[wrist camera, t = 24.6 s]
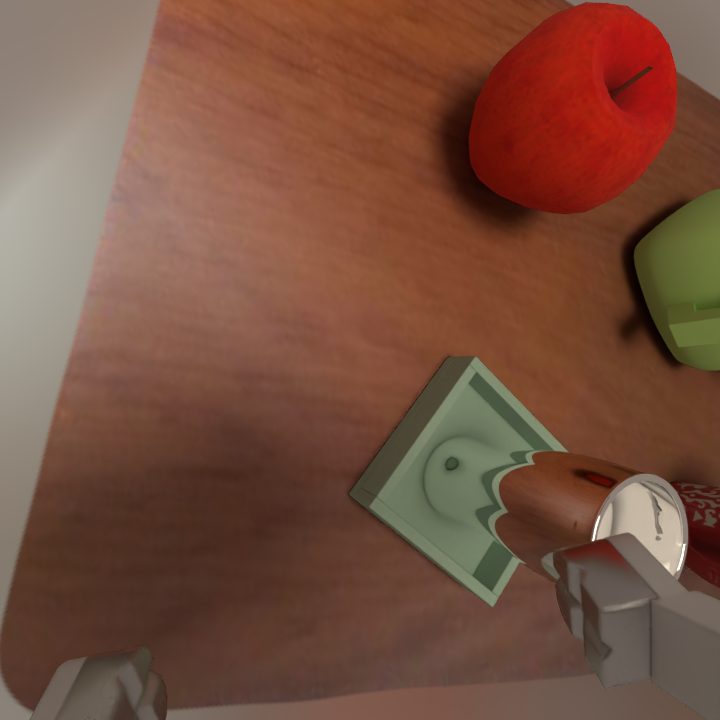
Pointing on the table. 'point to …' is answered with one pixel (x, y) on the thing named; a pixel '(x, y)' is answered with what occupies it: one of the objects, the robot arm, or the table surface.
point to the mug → (702, 529)
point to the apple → (575, 110)
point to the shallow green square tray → (411, 453)
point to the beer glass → (554, 501)
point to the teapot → (685, 280)
